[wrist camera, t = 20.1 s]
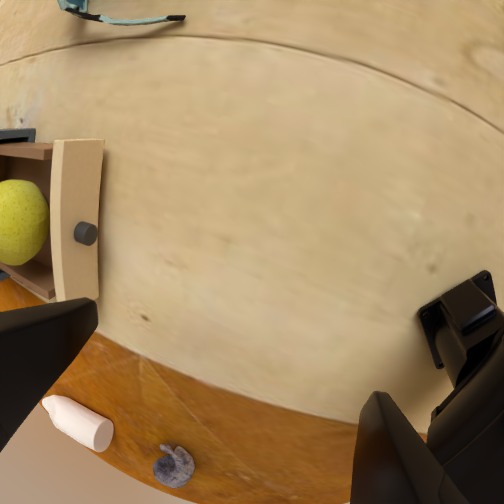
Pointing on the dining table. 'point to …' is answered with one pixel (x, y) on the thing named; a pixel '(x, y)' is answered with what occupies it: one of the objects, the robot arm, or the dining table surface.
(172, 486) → the seashell
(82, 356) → the dining table surface
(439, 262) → the dining table surface
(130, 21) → the sunglasses
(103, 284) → the dining table surface
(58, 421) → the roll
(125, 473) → the dining table surface
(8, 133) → the cabinet
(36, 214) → the fruit
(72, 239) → the drawer
